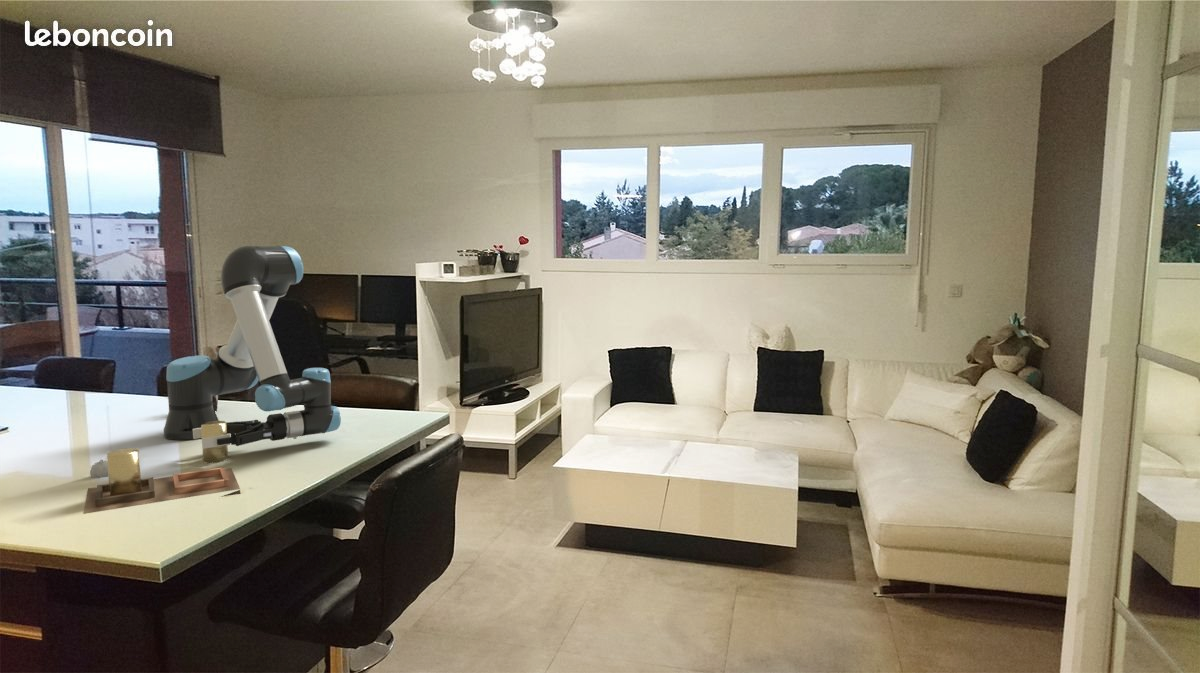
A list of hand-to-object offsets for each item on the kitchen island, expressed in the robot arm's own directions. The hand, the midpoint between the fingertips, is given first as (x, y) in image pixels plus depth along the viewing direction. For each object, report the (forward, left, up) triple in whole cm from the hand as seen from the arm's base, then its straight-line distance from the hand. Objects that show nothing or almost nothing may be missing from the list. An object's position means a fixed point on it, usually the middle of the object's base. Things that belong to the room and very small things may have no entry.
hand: (197, 438), depth 189 cm
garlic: (-8, -19, -7) cm, 22 cm away
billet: (+11, -26, -5) cm, 28 cm away
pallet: (+15, -19, -7) cm, 25 cm away
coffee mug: (-49, +40, -7) cm, 64 cm away
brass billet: (+2, +4, -7) cm, 8 cm away
